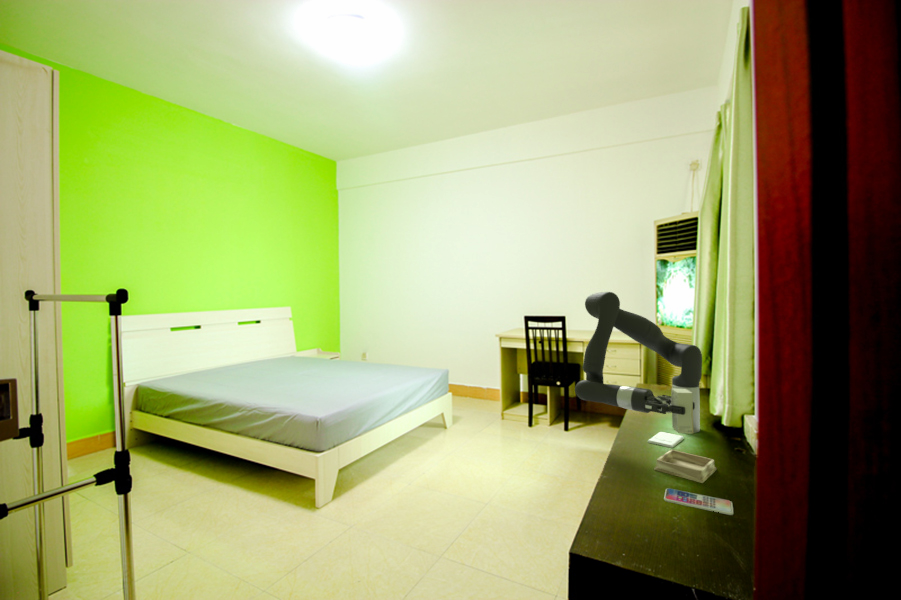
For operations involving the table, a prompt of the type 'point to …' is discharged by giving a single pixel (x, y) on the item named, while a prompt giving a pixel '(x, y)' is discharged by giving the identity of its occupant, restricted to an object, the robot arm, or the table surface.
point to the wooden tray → (686, 465)
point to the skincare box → (685, 400)
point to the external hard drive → (666, 439)
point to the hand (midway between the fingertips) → (689, 408)
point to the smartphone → (699, 501)
